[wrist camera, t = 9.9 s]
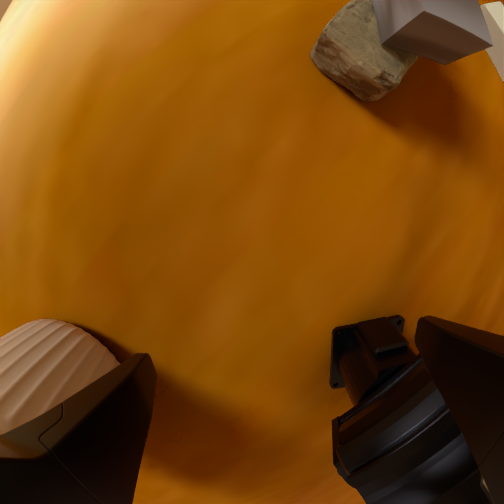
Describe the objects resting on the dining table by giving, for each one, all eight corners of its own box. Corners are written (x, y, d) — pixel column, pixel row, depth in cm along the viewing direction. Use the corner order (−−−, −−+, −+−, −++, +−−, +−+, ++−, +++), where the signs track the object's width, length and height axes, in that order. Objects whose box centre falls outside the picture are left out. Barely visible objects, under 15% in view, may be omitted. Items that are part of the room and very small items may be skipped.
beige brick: (515, 71, 15) (538, 66, 12) (501, 81, 16) (526, 76, 12) (479, 10, 14) (500, 1, 10) (461, 15, 14) (483, 4, 10)
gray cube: (444, 65, 12) (493, 45, 7) (380, 44, 12) (423, 10, 7) (430, 8, 11) (469, -19, 6) (368, -14, 11) (400, -53, 6)
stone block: (421, 29, 15) (451, 9, 11) (365, 111, 18) (397, 97, 13) (368, -13, 14) (390, -41, 10) (300, 63, 17) (315, 34, 12)
